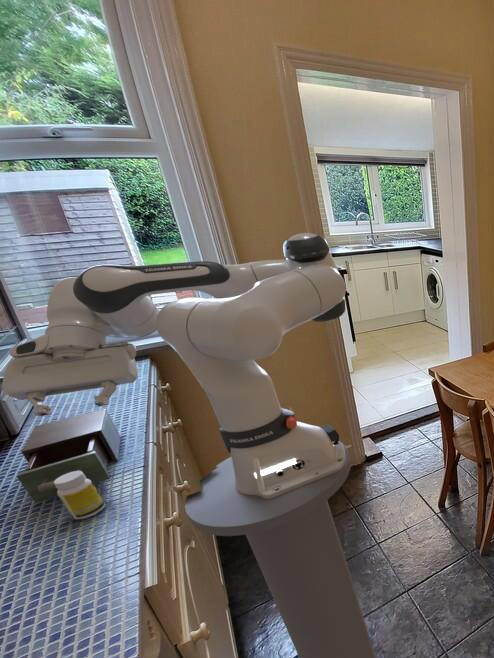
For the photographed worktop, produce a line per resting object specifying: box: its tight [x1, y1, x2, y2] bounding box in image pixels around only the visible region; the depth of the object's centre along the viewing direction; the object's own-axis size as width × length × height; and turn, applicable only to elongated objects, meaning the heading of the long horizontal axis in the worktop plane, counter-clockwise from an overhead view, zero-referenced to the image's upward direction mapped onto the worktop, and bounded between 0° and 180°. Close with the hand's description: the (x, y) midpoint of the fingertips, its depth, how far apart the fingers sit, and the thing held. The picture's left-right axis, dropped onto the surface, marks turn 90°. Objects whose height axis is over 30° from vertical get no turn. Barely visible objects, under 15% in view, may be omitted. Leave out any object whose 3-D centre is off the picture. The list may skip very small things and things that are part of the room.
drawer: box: [16, 434, 111, 504], centre depth 87 cm, size 18×11×7 cm, turn 39°
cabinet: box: [20, 408, 122, 465], centre depth 97 cm, size 15×13×9 cm
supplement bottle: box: [54, 471, 106, 520], centre depth 79 cm, size 5×5×8 cm
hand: (72, 409), depth 81 cm, fingers open, 8 cm apart
